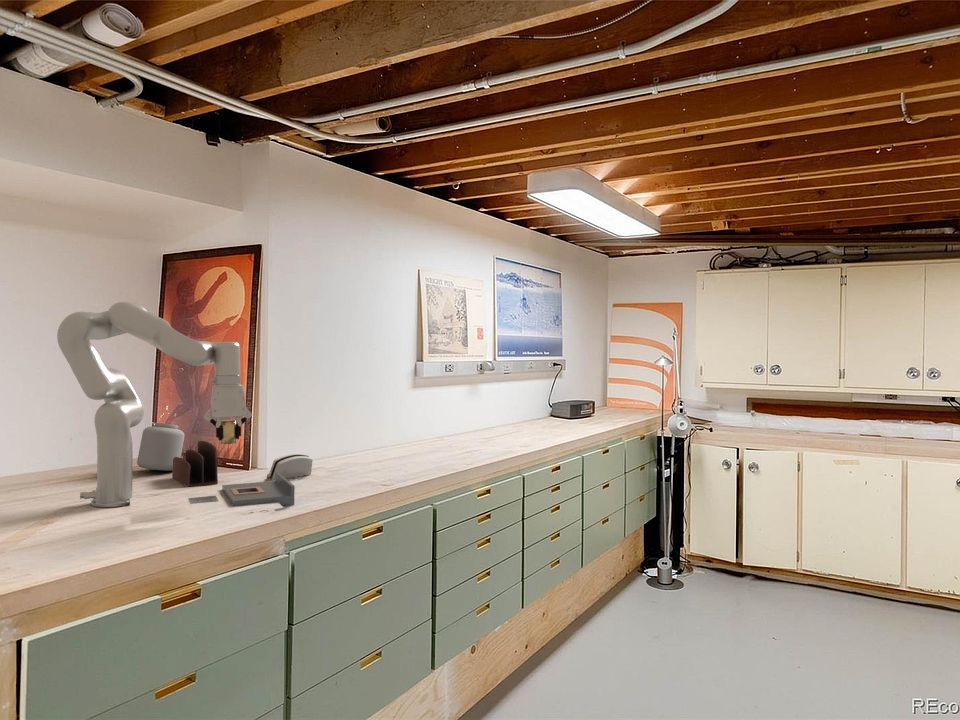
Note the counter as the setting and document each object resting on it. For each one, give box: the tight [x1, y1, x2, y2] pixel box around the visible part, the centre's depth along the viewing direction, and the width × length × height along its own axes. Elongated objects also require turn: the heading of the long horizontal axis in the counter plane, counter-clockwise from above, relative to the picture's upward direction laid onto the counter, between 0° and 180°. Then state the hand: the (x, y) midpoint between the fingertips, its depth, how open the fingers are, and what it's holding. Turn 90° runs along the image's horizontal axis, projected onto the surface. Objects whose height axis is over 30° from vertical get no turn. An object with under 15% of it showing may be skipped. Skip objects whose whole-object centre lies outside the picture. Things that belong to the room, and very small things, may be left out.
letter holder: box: [171, 440, 219, 488], centre depth 235 cm, size 10×20×14 cm, turn 40°
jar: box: [136, 405, 185, 472], centre depth 252 cm, size 19×15×25 cm
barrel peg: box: [220, 419, 237, 445], centre depth 205 cm, size 4×4×7 cm
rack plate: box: [221, 472, 296, 507], centre depth 210 cm, size 18×24×6 cm
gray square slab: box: [188, 495, 220, 505], centre depth 202 cm, size 8×8×2 cm
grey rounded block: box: [266, 453, 313, 481], centre depth 245 cm, size 17×5×10 cm, turn 140°
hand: (228, 438), depth 205 cm, fingers closed on barrel peg, 4 cm apart
